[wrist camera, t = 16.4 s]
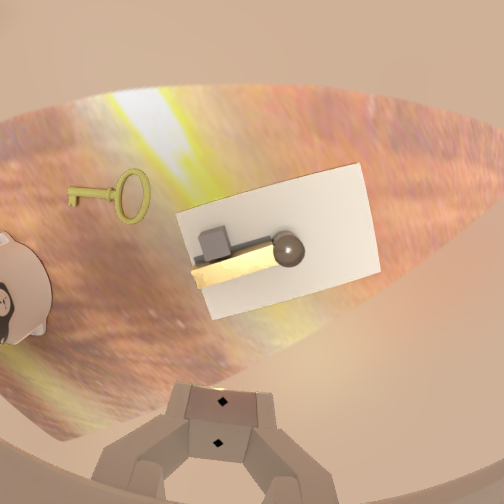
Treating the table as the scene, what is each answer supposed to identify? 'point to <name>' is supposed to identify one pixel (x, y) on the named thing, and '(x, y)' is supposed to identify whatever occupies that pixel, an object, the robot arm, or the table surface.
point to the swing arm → (251, 260)
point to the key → (116, 195)
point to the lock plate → (291, 219)
